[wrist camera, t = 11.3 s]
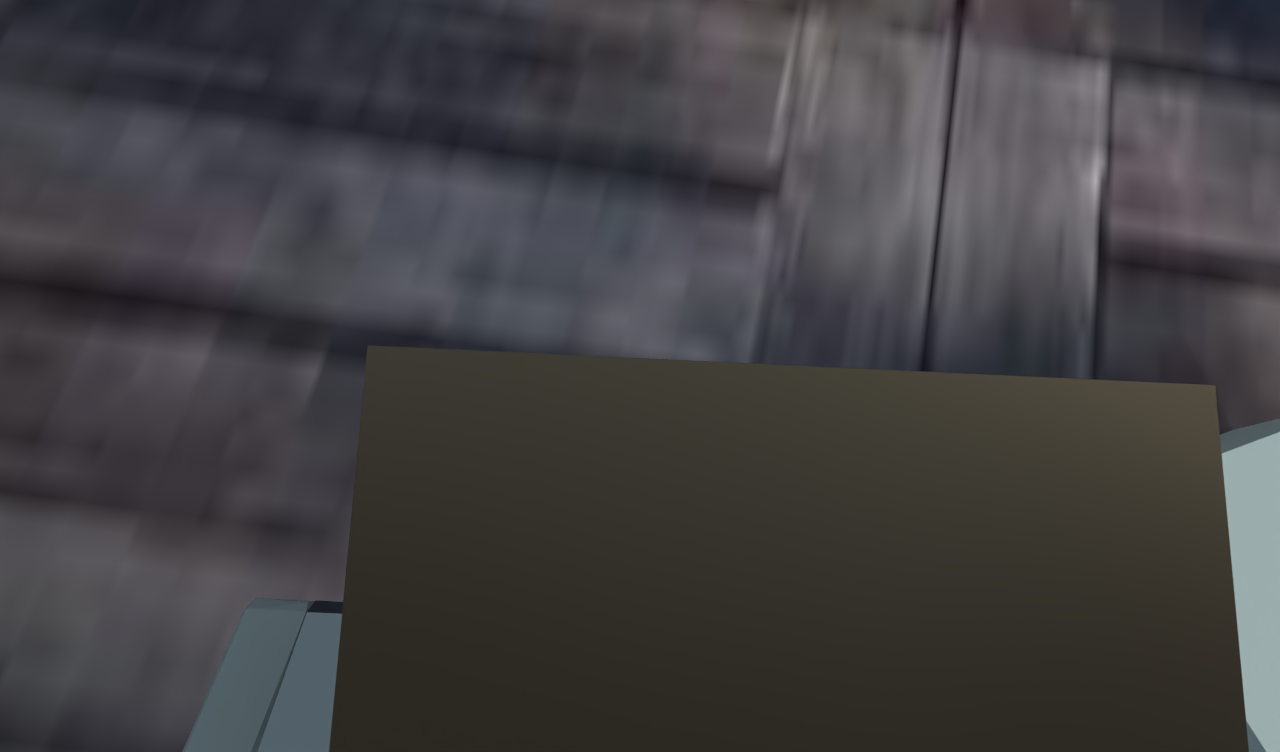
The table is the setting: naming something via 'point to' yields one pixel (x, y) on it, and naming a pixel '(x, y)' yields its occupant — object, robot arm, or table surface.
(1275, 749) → the painted base block
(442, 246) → the table surface
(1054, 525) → the walnut block
